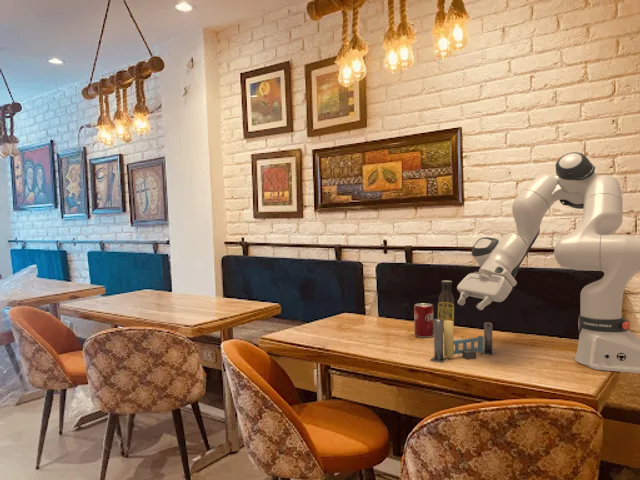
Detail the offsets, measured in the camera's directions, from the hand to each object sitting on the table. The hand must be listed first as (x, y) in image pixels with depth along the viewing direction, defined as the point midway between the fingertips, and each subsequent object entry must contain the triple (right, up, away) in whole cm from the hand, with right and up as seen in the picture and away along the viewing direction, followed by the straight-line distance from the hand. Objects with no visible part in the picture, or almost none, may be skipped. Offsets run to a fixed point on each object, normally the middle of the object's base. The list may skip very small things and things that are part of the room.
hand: (469, 306), depth 165 cm
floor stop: (0, -17, 0) cm, 17 cm away
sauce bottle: (+2, -15, +38) cm, 41 cm away
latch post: (-10, -17, -2) cm, 20 cm away
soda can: (-8, -15, +31) cm, 35 cm away
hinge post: (+8, -16, +5) cm, 19 cm away
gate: (-1, -16, +2) cm, 16 cm away
